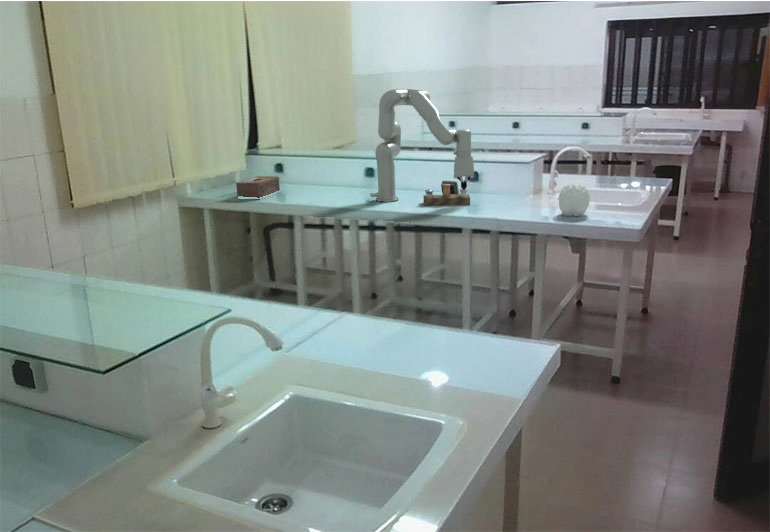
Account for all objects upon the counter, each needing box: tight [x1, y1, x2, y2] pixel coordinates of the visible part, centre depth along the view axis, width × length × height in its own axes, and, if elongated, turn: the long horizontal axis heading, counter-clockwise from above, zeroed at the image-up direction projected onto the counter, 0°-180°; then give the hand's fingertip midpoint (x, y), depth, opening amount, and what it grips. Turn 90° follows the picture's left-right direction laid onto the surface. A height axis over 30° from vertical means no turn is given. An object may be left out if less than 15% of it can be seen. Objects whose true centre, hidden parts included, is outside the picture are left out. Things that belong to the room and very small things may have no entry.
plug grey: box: [425, 189, 434, 197], centre depth 344 cm, size 4×4×7 cm
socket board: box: [423, 193, 471, 207], centre depth 344 cm, size 24×10×4 cm, turn 88°
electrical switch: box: [440, 180, 460, 195], centre depth 362 cm, size 9×5×9 cm, turn 57°
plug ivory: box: [459, 188, 468, 197], centre depth 343 cm, size 4×4×7 cm
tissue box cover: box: [235, 175, 281, 198], centre depth 387 cm, size 26×14×10 cm, turn 163°
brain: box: [557, 183, 591, 217], centre depth 307 cm, size 14×18×18 cm
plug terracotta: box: [441, 183, 450, 197], centre depth 343 cm, size 4×4×7 cm
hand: (463, 189), depth 342 cm, fingers closed
